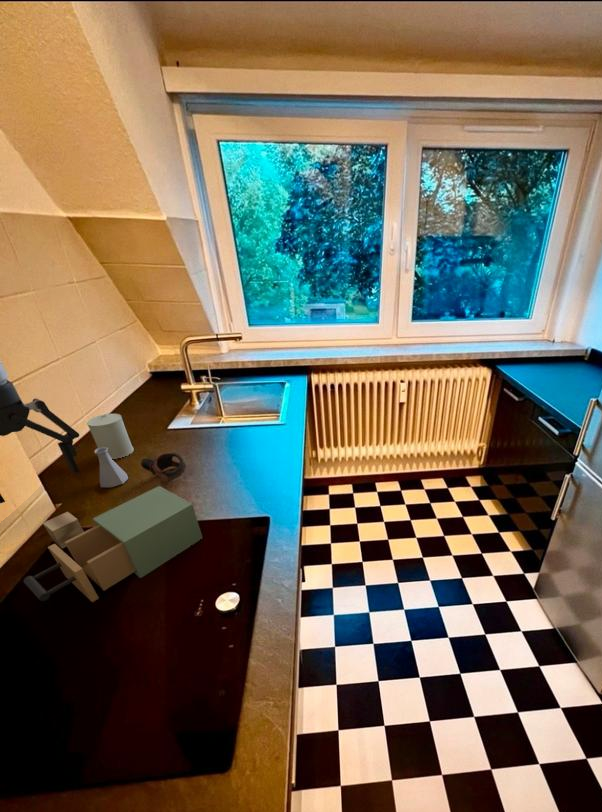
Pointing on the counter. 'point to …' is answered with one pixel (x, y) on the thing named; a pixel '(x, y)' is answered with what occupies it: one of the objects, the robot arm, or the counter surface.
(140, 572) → the cabinet
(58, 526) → the block
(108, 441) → the can
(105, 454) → the flask
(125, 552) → the drawer
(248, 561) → the counter surface
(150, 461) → the pottery mug
